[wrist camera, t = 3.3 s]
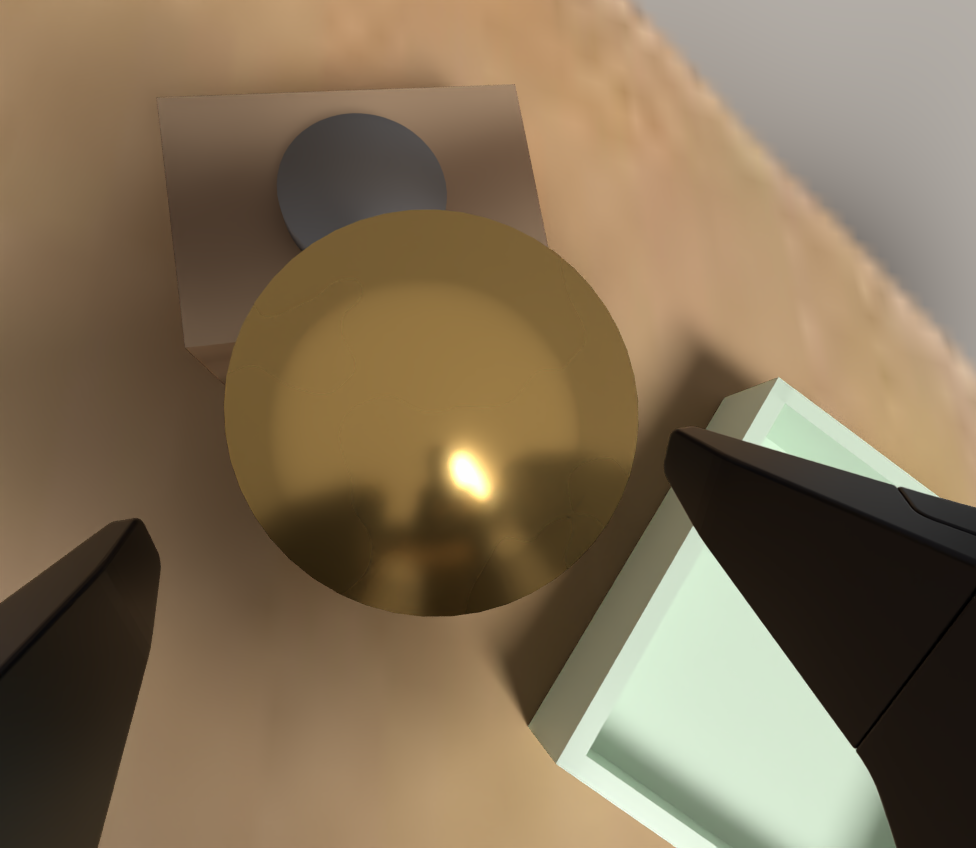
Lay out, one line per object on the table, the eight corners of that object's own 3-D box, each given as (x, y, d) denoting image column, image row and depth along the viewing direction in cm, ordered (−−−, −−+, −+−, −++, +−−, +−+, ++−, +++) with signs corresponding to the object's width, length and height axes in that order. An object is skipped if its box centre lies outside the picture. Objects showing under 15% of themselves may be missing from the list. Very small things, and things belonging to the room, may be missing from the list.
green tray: (1002, 603, 23) (1097, 615, 20) (856, 955, 20) (942, 1032, 17) (724, 397, 22) (778, 376, 19) (527, 726, 19) (555, 763, 16)
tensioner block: (526, 345, 21) (568, 294, 17) (224, 384, 19) (174, 338, 15) (491, 162, 22) (520, 64, 17) (199, 180, 20) (145, 75, 15)
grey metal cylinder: (502, 466, 20) (705, 364, 8) (418, 589, 19) (495, 705, 7) (385, 381, 20) (398, 135, 8) (293, 501, 19) (124, 446, 6)
